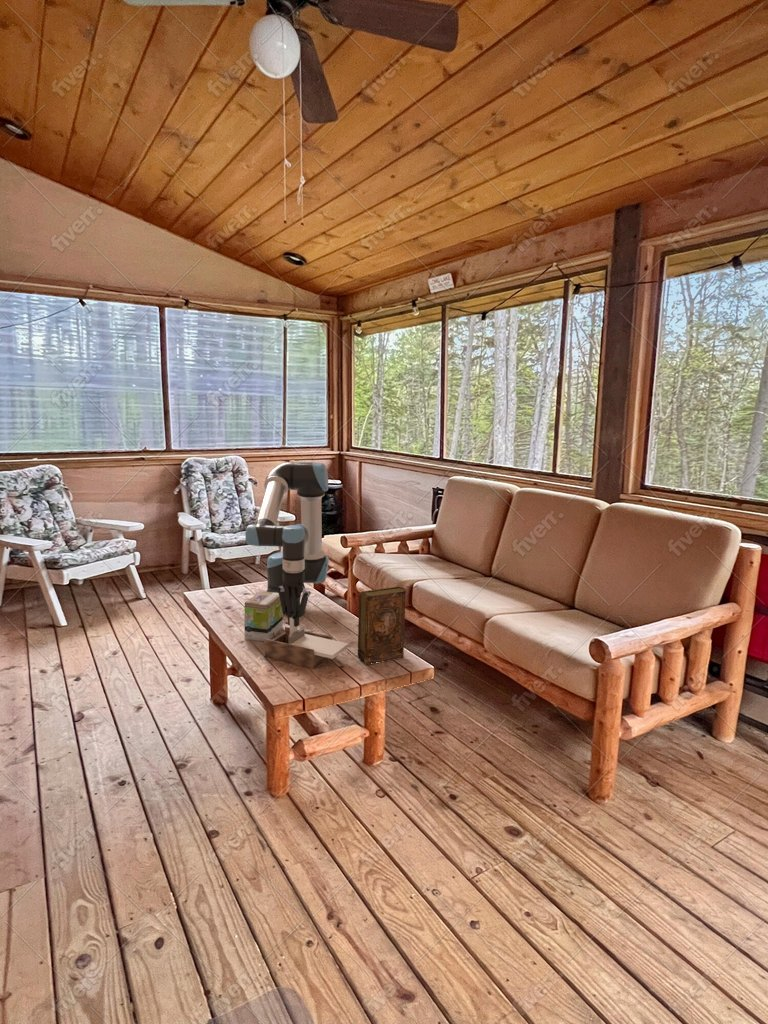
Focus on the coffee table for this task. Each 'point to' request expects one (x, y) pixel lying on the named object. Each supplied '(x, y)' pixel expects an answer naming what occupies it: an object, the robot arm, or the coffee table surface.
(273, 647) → the walnut box
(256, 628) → the tea box
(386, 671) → the coffee table surface
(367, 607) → the book
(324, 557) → the robot arm
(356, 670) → the coffee table surface
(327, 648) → the cover plate
